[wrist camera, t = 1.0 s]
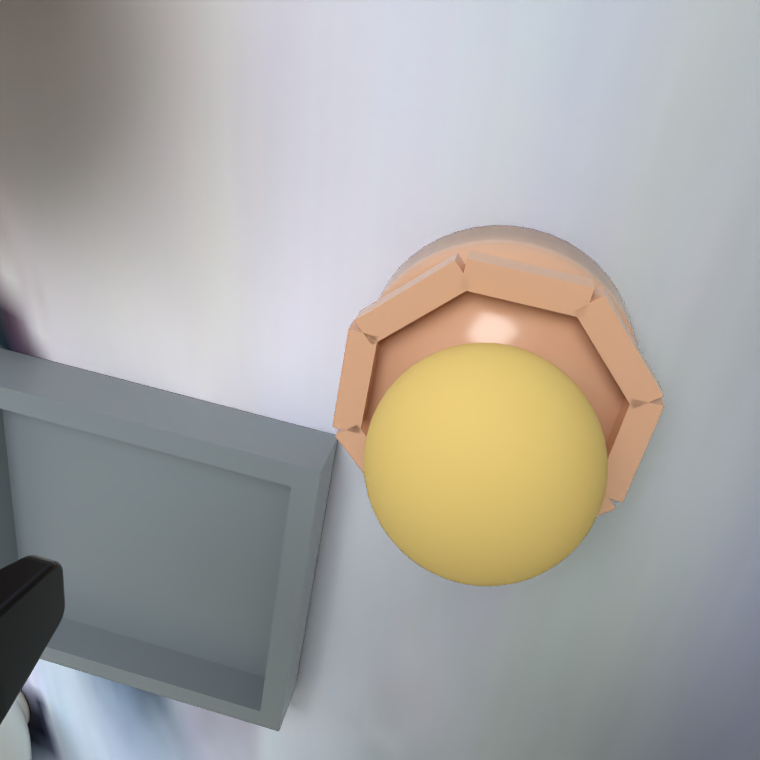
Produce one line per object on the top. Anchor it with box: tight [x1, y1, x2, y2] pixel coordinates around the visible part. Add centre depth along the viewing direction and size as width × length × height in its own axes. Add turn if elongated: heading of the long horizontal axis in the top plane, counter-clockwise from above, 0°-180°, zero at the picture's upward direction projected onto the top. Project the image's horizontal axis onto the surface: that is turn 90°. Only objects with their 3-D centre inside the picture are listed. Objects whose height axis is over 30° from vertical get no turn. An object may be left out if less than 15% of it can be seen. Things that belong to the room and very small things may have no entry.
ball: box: [364, 343, 608, 586], centre depth 15 cm, size 5×5×5 cm
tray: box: [0, 348, 338, 731], centre depth 24 cm, size 12×12×2 cm
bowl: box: [333, 225, 664, 516], centre depth 18 cm, size 7×7×4 cm
